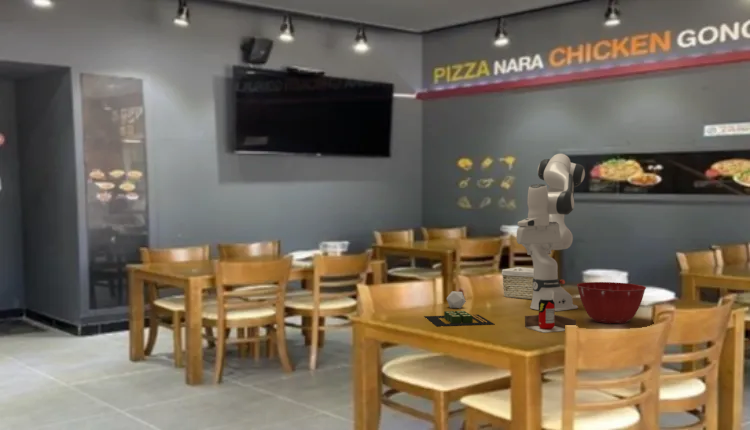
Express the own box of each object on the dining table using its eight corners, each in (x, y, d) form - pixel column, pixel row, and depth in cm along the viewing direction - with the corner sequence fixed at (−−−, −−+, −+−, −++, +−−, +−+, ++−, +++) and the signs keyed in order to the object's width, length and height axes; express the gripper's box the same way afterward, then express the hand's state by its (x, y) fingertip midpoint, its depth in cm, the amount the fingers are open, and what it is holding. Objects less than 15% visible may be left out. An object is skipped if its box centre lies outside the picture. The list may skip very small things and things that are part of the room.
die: (468, 308, 378) (459, 291, 382) (468, 302, 370) (459, 284, 375) (452, 315, 377) (444, 297, 382) (452, 308, 370) (444, 291, 374)
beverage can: (552, 326, 323) (552, 297, 323) (556, 329, 317) (556, 299, 316) (536, 326, 323) (537, 297, 322) (540, 329, 317) (540, 299, 316)
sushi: (494, 326, 331) (494, 317, 331) (436, 328, 327) (436, 319, 327) (478, 316, 355) (478, 308, 355) (423, 318, 352) (423, 309, 352)
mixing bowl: (617, 314, 356) (617, 280, 356) (660, 324, 330) (660, 287, 329) (563, 318, 346) (563, 283, 346) (603, 329, 320) (604, 291, 319)
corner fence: (551, 324, 331) (551, 313, 331) (575, 330, 316) (575, 319, 316) (522, 326, 325) (522, 316, 325) (546, 333, 310) (546, 322, 310)
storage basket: (500, 297, 412) (500, 268, 412) (517, 293, 424) (517, 266, 424) (540, 301, 396) (540, 272, 395) (556, 298, 408) (556, 269, 407)
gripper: (554, 221, 342) (555, 253, 342) (514, 222, 335) (514, 255, 335) (563, 221, 337) (564, 253, 336) (522, 222, 329) (523, 255, 329)
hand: (539, 254), depth 336 cm, fingers open, 8 cm apart
